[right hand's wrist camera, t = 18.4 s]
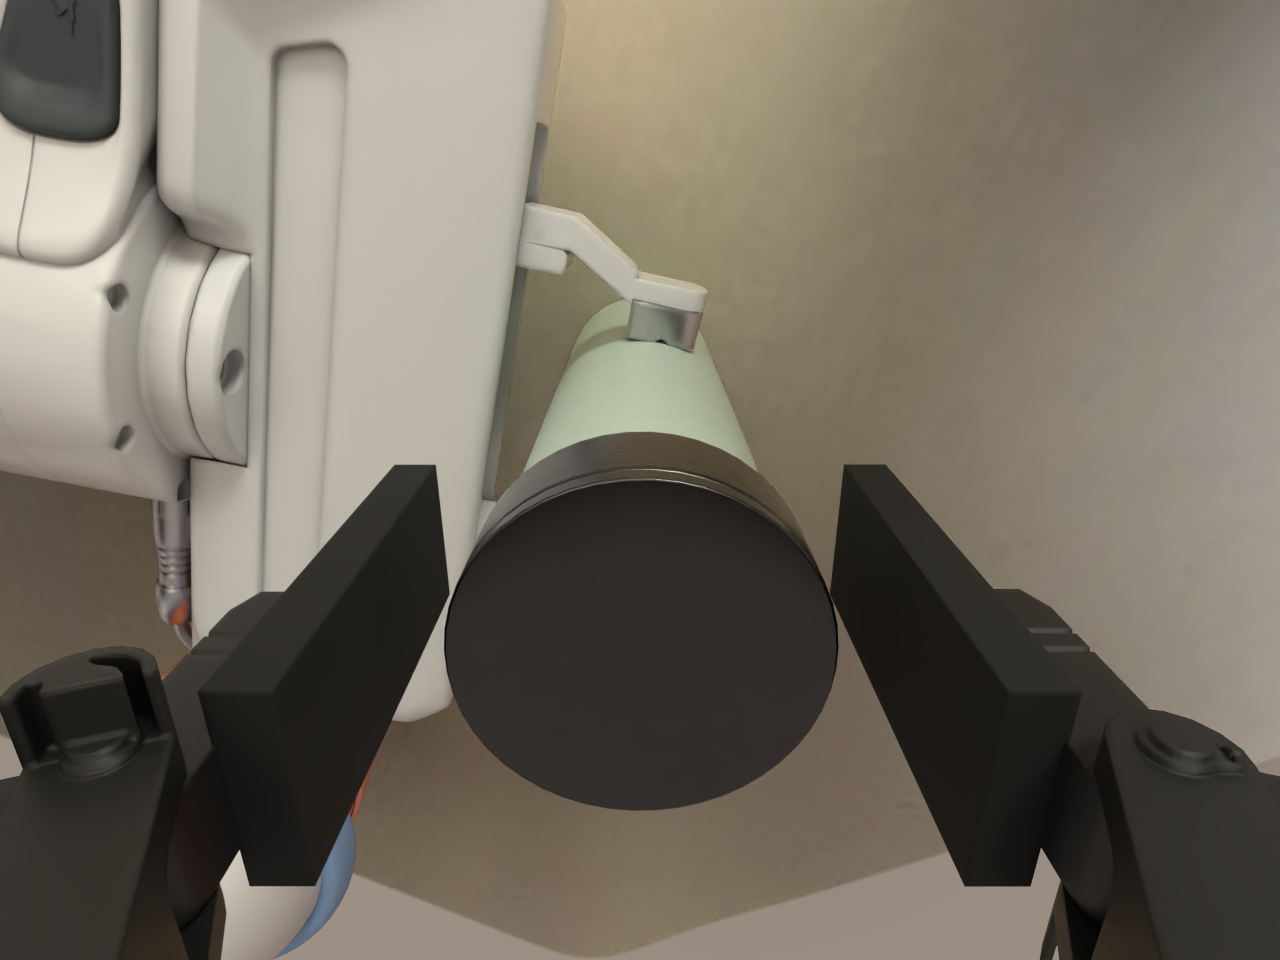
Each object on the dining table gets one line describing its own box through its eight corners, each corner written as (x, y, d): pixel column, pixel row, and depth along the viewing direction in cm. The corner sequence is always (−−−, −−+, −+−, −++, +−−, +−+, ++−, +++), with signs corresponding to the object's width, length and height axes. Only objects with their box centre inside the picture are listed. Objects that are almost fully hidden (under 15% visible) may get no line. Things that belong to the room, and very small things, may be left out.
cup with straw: (347, 765, 33) (46, 1364, 16) (170, 639, 31) (-396, 1191, 14) (484, 645, 31) (299, 1200, 14) (305, 498, 28) (-181, 958, 12)
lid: (477, 717, 13) (451, 803, 11) (467, 420, 11) (433, 467, 9) (785, 731, 13) (809, 819, 11) (832, 439, 11) (870, 489, 9)
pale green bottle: (737, 353, 26) (878, 602, 11) (653, 457, 28) (670, 810, 12) (626, 267, 25) (603, 405, 10) (544, 380, 27) (410, 658, 11)
